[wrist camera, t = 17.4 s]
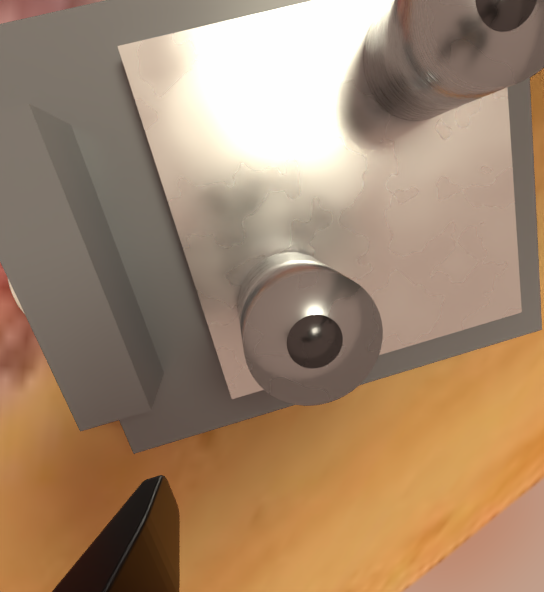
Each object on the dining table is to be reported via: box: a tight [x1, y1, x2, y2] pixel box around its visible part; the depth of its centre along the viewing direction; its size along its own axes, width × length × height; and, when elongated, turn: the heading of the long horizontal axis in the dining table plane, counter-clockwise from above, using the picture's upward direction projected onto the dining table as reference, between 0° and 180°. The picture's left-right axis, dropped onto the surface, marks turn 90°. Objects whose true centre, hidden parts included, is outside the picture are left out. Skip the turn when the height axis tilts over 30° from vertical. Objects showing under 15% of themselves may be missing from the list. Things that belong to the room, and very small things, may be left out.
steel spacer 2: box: [363, 0, 544, 121], centre depth 13 cm, size 5×5×5 cm
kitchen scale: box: [0, 0, 542, 454], centre depth 17 cm, size 24×20×6 cm
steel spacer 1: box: [237, 252, 383, 406], centre depth 15 cm, size 5×5×5 cm
